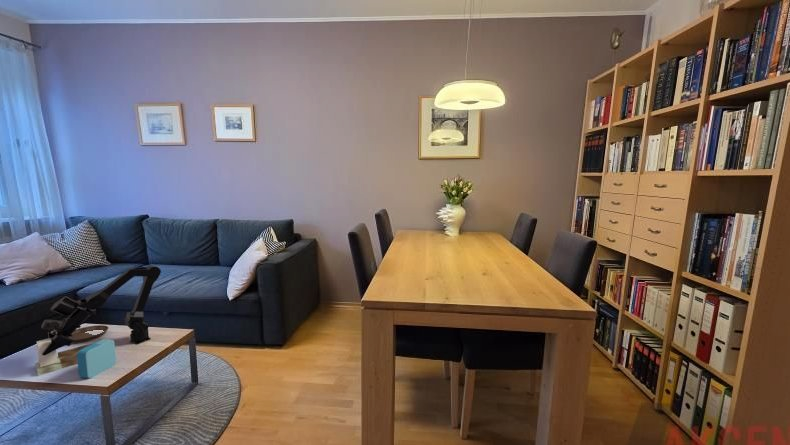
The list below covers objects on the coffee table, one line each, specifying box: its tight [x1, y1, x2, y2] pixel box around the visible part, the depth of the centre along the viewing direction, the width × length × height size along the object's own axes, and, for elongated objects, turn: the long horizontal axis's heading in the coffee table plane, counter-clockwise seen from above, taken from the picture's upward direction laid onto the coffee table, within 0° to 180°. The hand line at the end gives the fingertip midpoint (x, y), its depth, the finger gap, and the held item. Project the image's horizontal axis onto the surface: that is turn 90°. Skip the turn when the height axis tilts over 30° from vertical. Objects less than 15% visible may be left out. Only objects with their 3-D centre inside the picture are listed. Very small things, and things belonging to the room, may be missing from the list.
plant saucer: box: [71, 324, 109, 344], centre depth 169 cm, size 18×18×3 cm
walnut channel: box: [34, 341, 97, 377], centre depth 147 cm, size 23×10×4 cm, turn 142°
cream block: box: [36, 337, 58, 367], centre depth 140 cm, size 5×5×10 cm
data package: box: [77, 338, 117, 379], centre depth 138 cm, size 12×4×12 cm, turn 173°
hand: (42, 353), depth 139 cm, fingers closed on cream block, 5 cm apart
